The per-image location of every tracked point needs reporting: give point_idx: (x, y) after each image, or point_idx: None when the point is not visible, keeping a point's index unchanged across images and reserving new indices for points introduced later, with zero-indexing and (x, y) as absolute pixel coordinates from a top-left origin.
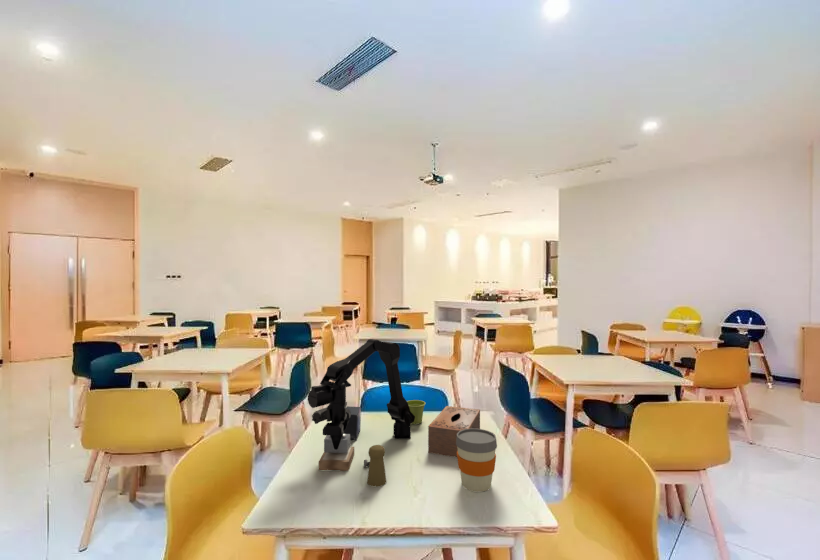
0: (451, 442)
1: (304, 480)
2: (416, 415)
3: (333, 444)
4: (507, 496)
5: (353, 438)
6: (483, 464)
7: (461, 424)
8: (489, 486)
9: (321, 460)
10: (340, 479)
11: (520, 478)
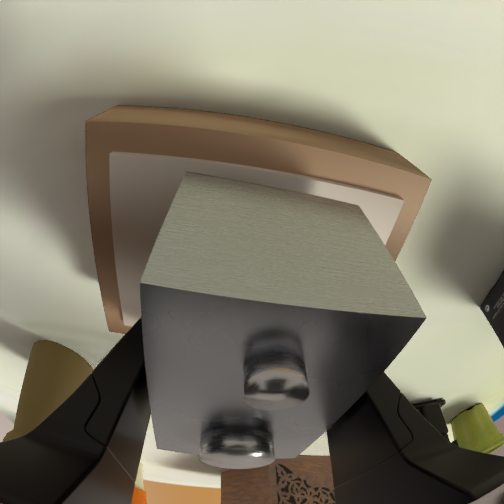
0: (237, 496)
1: (5, 54)
2: (458, 440)
3: (120, 343)
4: None
5: (491, 304)
6: None
7: None
8: None
9: (103, 143)
10: (35, 253)
11: (148, 479)
